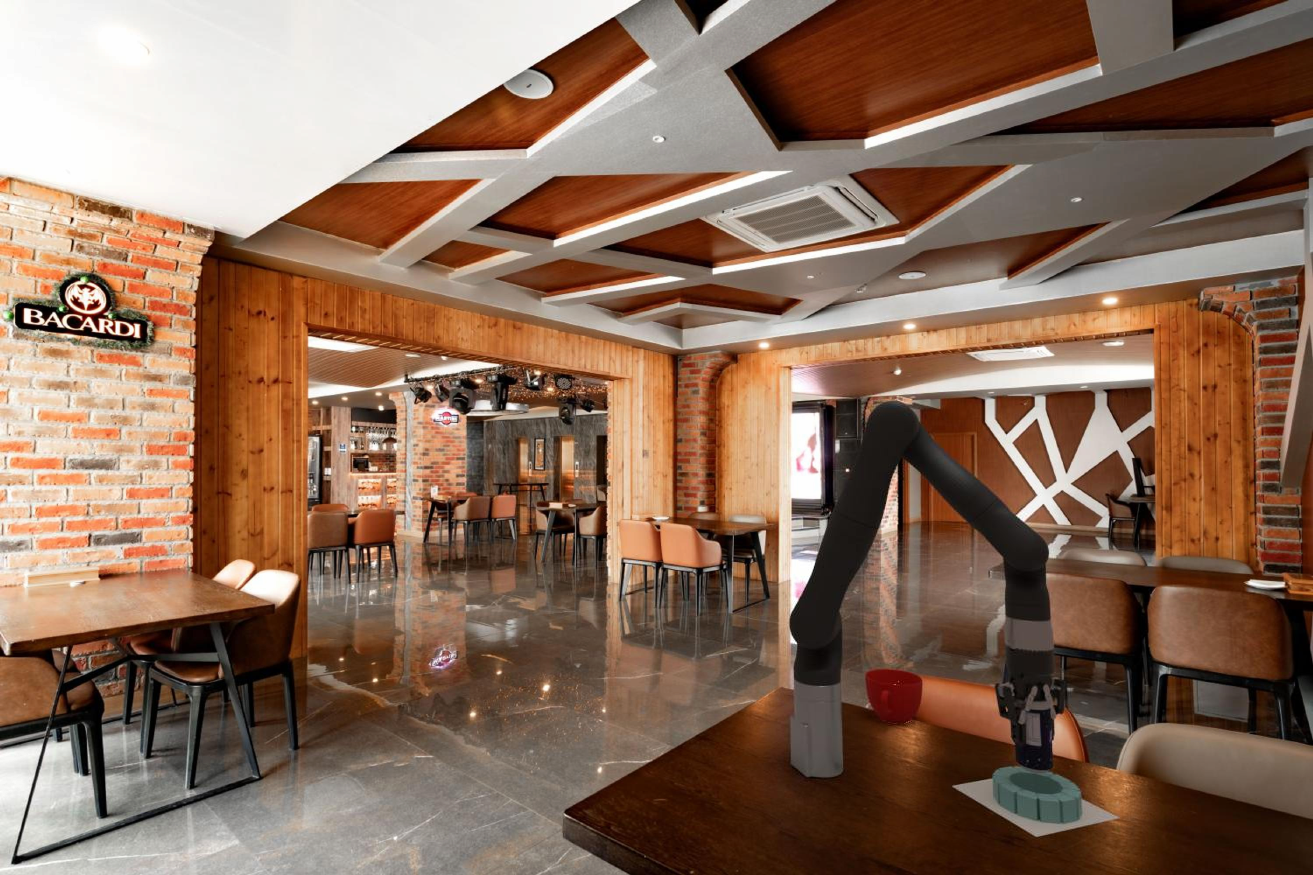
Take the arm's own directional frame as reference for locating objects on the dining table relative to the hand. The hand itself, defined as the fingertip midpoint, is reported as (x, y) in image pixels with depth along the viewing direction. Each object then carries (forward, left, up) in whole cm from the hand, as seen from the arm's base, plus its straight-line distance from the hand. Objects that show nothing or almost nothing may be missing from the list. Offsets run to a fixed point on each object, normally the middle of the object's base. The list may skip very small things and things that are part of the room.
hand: (1033, 741), depth 113 cm
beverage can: (0, 0, -5) cm, 5 cm away
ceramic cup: (+3, +42, -12) cm, 44 cm away
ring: (0, 0, -11) cm, 11 cm away
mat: (0, +1, -11) cm, 11 cm away
